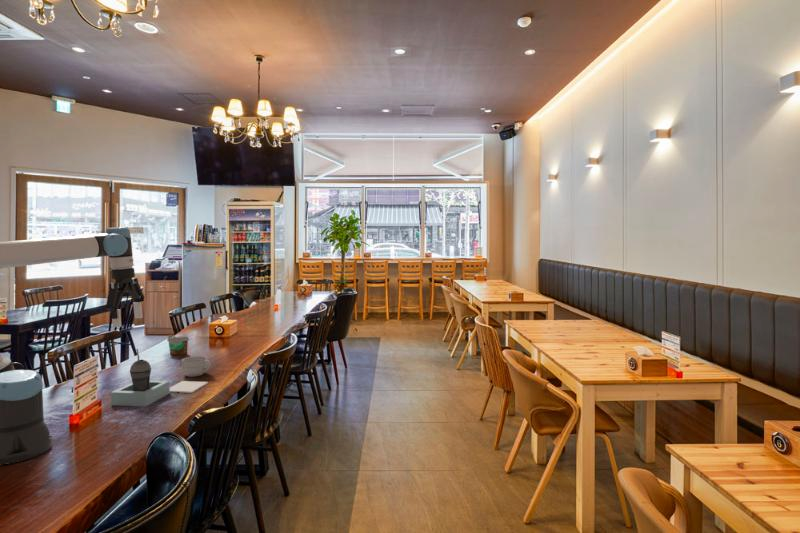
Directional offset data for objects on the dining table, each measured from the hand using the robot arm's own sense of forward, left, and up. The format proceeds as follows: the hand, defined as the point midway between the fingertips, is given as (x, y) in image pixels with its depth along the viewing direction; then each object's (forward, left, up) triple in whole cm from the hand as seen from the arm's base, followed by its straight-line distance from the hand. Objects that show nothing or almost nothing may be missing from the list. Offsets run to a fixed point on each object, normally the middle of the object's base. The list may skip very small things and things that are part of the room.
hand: (128, 322), depth 163 cm
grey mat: (+16, -13, -31) cm, 37 cm away
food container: (+64, +24, -31) cm, 75 cm away
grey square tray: (+2, -3, -31) cm, 31 cm away
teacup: (+32, -8, -31) cm, 45 cm away
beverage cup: (+2, -3, -31) cm, 31 cm away
